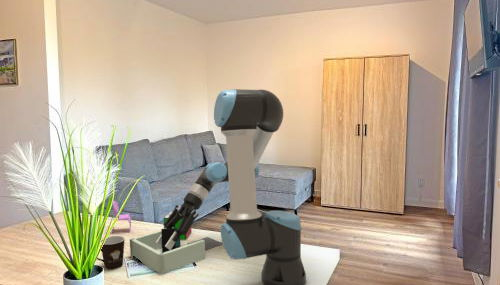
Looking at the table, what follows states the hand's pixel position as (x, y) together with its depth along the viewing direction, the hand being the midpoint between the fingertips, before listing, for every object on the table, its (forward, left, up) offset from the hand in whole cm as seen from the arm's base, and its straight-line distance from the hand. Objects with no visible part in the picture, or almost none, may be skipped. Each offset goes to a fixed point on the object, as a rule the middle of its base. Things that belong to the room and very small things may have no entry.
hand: (163, 245), depth 144 cm
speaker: (+1, -4, -4) cm, 5 cm away
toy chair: (+40, +12, -5) cm, 42 cm away
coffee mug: (+2, +20, -5) cm, 20 cm away
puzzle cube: (+22, -11, -5) cm, 26 cm away
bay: (+1, -2, -5) cm, 6 cm away
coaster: (+7, -19, -5) cm, 21 cm away
